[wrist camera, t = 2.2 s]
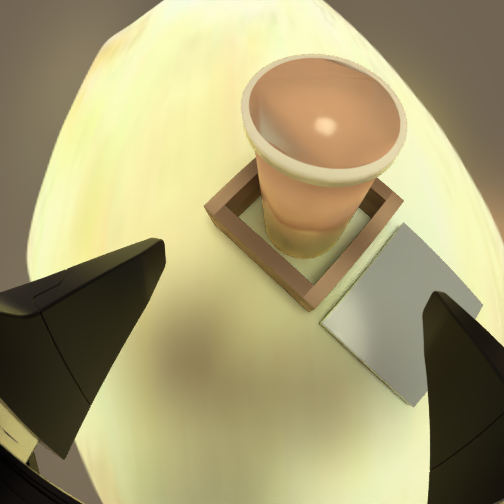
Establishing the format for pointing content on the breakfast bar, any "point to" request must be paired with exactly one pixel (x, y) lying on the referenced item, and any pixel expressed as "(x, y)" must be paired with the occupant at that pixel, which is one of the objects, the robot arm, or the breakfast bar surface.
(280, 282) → the frame
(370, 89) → the peach plastic cup
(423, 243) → the tile
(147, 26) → the breakfast bar surface
